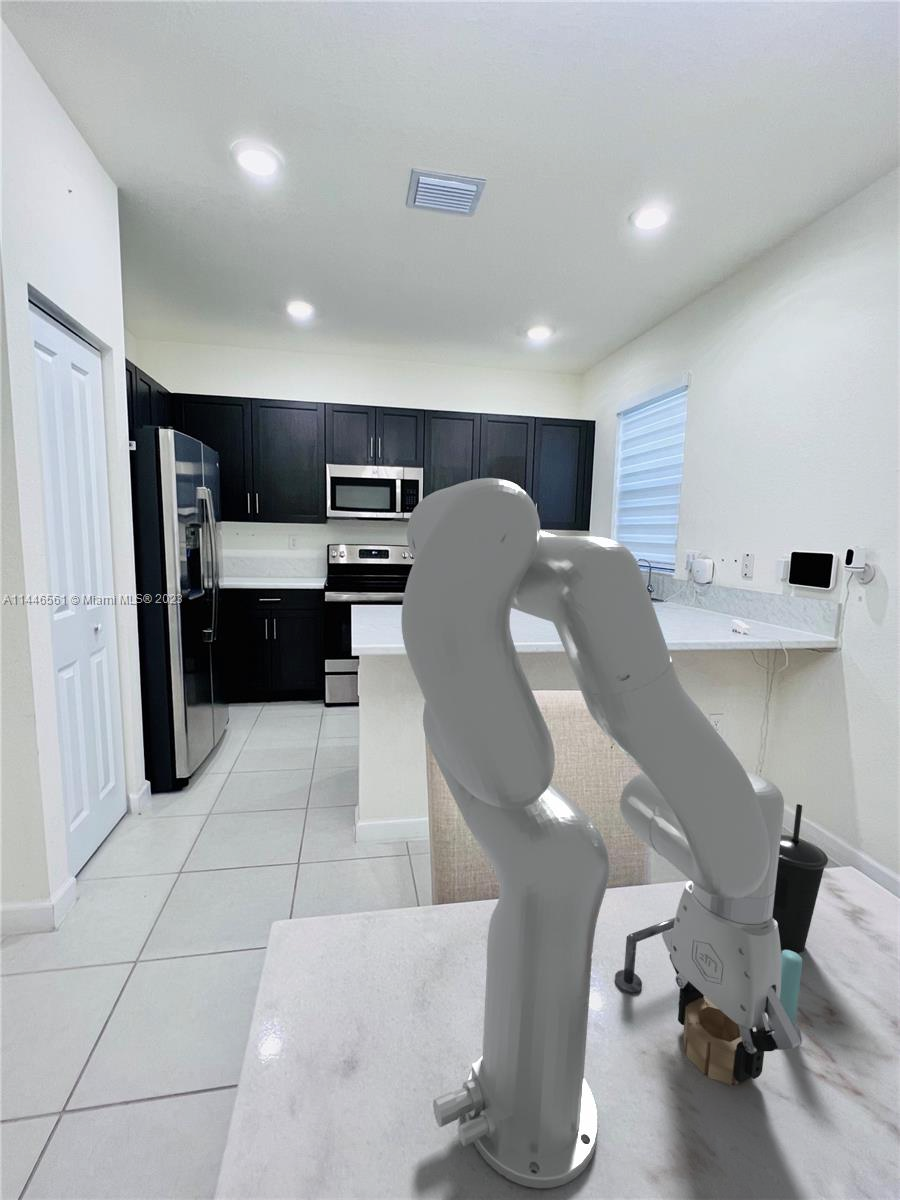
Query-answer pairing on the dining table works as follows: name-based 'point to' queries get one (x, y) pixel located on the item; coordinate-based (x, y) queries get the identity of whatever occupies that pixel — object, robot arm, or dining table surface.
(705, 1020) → the ring
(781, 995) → the peg
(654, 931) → the corner grab bar
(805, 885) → the drinking cup
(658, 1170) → the dining table surface
